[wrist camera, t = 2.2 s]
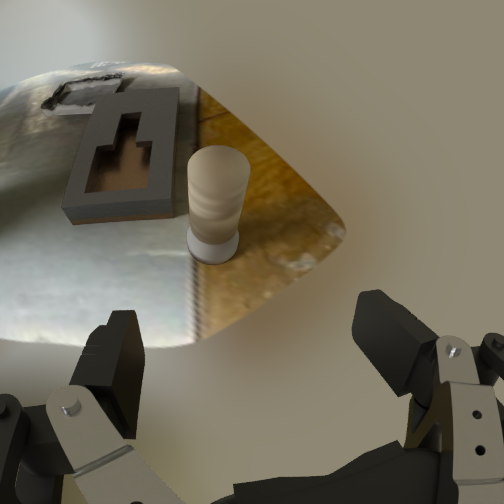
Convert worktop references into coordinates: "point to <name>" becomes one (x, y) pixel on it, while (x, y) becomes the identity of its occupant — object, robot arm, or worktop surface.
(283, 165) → the worktop surface
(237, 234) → the keyhole peg
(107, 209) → the keyhole board
